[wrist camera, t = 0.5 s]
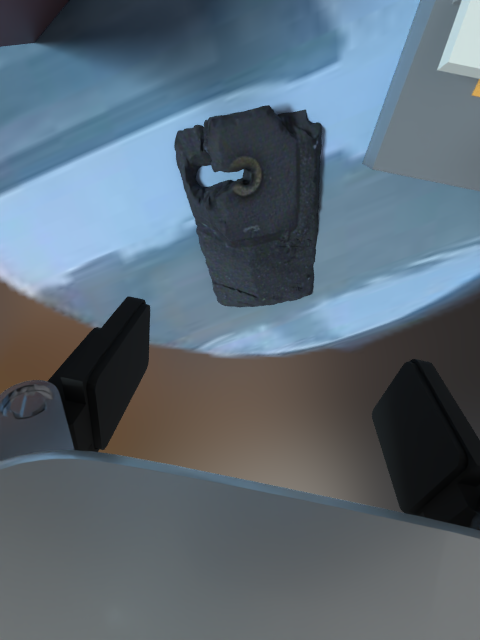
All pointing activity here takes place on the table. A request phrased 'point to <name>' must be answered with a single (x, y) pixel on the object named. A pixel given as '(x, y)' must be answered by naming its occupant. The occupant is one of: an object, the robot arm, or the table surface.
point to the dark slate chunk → (255, 203)
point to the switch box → (429, 109)
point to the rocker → (464, 42)
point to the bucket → (26, 19)
